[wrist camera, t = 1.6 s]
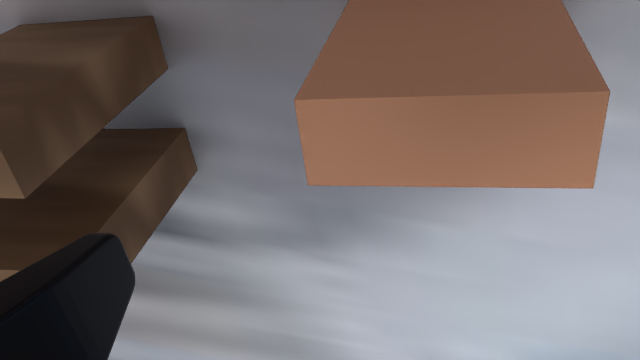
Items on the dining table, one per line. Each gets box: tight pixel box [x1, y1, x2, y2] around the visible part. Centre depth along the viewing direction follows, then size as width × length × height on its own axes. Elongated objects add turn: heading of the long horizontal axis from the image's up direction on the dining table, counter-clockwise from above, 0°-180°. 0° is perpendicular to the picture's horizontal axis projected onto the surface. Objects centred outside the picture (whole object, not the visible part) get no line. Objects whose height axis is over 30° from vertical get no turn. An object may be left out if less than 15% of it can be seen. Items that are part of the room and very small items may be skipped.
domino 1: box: [0, 16, 168, 199], centre depth 17 cm, size 2×6×8 cm, turn 97°
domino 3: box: [294, 0, 610, 188], centre depth 14 cm, size 2×6×8 cm, turn 97°
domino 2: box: [0, 128, 197, 282], centre depth 20 cm, size 2×6×8 cm, turn 97°
